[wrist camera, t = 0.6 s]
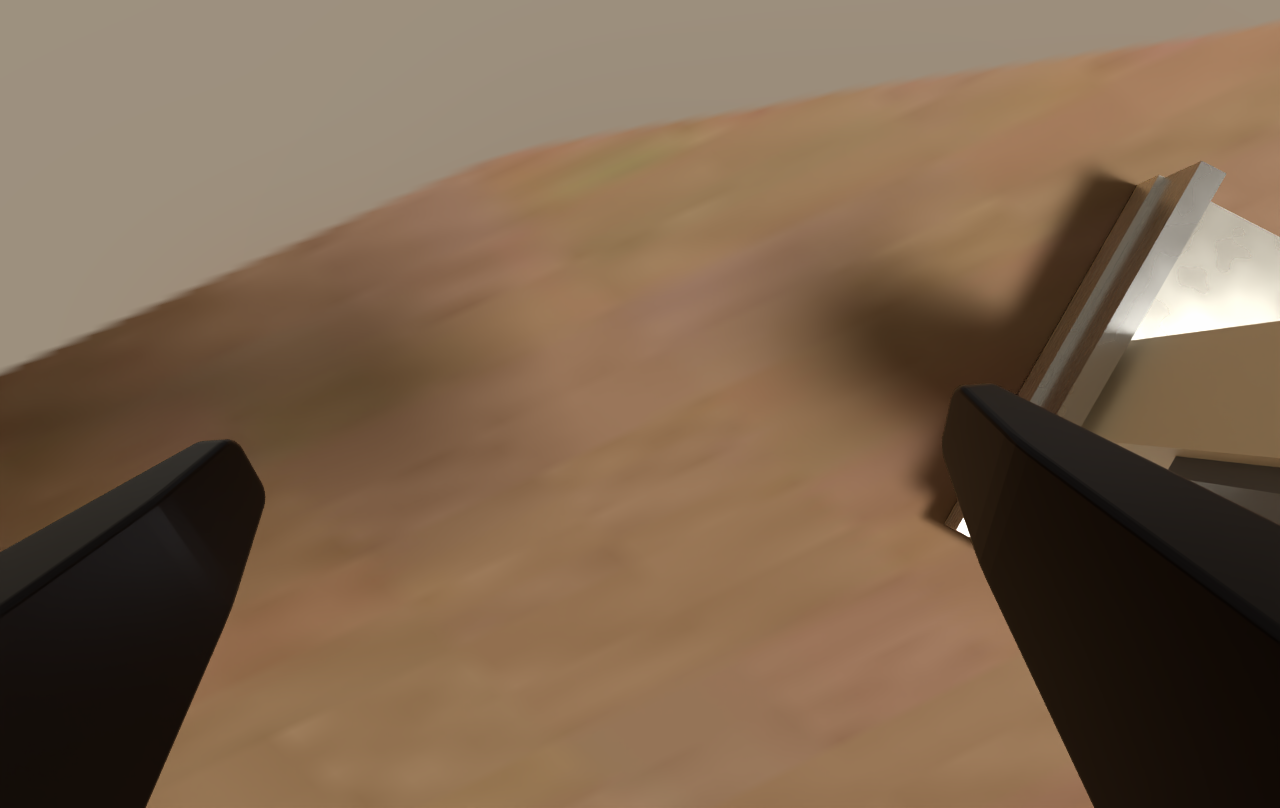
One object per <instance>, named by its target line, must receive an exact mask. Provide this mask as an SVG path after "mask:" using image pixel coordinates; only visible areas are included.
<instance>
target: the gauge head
mask: <svg viewBox="0 0 1280 808" xmlns="http://www.w3.org/2000/svg"><path fill="white" fill-rule="evenodd" d="M1081 427H1083V428H1085V429H1087V430H1089V431H1091V432H1093V433H1095V434H1097V435H1099V436H1101V437H1103V438H1105V439H1107V440H1109V441H1111V442H1113V443H1115V444H1117V445H1119V446H1121V447H1123V448H1125V449H1127V450H1129V451H1131V452H1133V453H1135V454H1138V455H1140V456H1142V457H1144V458H1146V459H1148V460H1150V461H1152V462H1154V463H1156V464H1158V465H1160V466H1162V467H1164V468H1166V469H1168V470H1170V471H1172V472H1174V473H1176V474H1178V475H1180V476H1182V477H1184V478H1186V479H1188V480H1190V481H1192V482H1194V483H1196V484H1198V485H1200V486H1202V487H1204V488H1206V489H1208V490H1210V491H1212V492H1214V493H1217V494H1219V495H1221V496H1223V497H1225V498H1227V499H1229V500H1231V501H1233V502H1235V503H1237V504H1239V505H1241V506H1243V507H1245V508H1247V509H1249V510H1251V511H1253V512H1255V513H1257V514H1259V515H1261V516H1263V517H1265V518H1267V519H1269V520H1271V521H1273V522H1275V523H1277V524H1279V525H1280V321H1274V322H1267V323H1259V324H1251V325H1244V326H1236V327H1229V328H1221V329H1214V330H1206V331H1199V332H1191V333H1184V334H1176V335H1169V336H1161V337H1153V338H1146V339H1138V340H1131V341H1130V343H1129V344H1128V346H1127V348H1126V350H1125V351H1124V353H1123V355H1122V357H1121V358H1120V360H1119V362H1118V364H1117V365H1116V367H1115V369H1114V370H1113V372H1112V374H1111V376H1110V377H1109V379H1108V381H1107V383H1106V384H1105V386H1104V388H1103V390H1102V391H1101V393H1100V395H1099V397H1098V398H1097V400H1096V402H1095V404H1094V405H1093V407H1092V409H1091V411H1090V412H1089V414H1088V416H1087V418H1086V419H1085V421H1084V423H1083V425H1082V426H1081Z"/></svg>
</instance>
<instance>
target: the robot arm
mask: <svg viewBox="0 0 1280 808" xmlns="http://www.w3.org/2000/svg"><path fill="white" fill-rule="evenodd" d="M942 452H943V457H944V460H945V464H946V467H947V470H948V473H949V476H950V479H951V482H952V485H953V488H954V491H955V494H956V497H957V500H958V503H959V506H960V509H961V512H962V515H963V518H964V521H965V524H966V527H967V530H968V533H969V536H970V539H971V542H972V545H973V548H974V550H975V553H976V556H977V559H978V561H979V564H980V566H981V568H982V571H983V573H984V575H985V578H986V580H987V582H988V584H989V586H990V588H991V591H992V593H993V595H994V597H995V599H996V601H997V603H998V605H999V607H1000V610H1001V612H1002V614H1003V616H1004V618H1005V620H1006V622H1007V624H1008V626H1009V629H1010V631H1011V633H1012V635H1013V637H1014V639H1015V641H1016V643H1017V645H1018V648H1019V650H1020V652H1021V654H1022V656H1023V658H1024V660H1025V662H1026V665H1027V667H1028V669H1029V671H1030V673H1031V675H1032V677H1033V679H1034V681H1035V684H1036V686H1037V688H1038V690H1039V692H1040V694H1041V696H1042V698H1043V700H1044V703H1045V705H1046V707H1047V709H1048V711H1049V713H1050V715H1051V717H1052V719H1053V722H1054V724H1055V726H1056V728H1057V730H1058V732H1059V734H1060V736H1061V739H1062V741H1063V743H1064V745H1065V747H1066V749H1067V751H1068V753H1069V755H1070V758H1071V760H1072V762H1073V764H1074V766H1075V768H1076V770H1077V772H1078V774H1079V777H1080V779H1081V781H1082V783H1083V785H1084V787H1085V789H1086V791H1087V793H1088V796H1089V798H1090V800H1091V802H1092V804H1093V806H1094V808H1280V525H1279V524H1277V523H1275V522H1273V521H1271V520H1269V519H1267V518H1265V517H1263V516H1261V515H1259V514H1257V513H1255V512H1253V511H1251V510H1249V509H1247V508H1245V507H1243V506H1241V505H1239V504H1237V503H1235V502H1233V501H1231V500H1229V499H1227V498H1225V497H1223V496H1221V495H1219V494H1217V493H1214V492H1212V491H1210V490H1208V489H1206V488H1204V487H1202V486H1200V485H1198V484H1196V483H1194V482H1192V481H1190V480H1188V479H1186V478H1184V477H1182V476H1180V475H1178V474H1176V473H1174V472H1172V471H1170V470H1168V469H1166V468H1164V467H1162V466H1160V465H1158V464H1156V463H1154V462H1152V461H1150V460H1148V459H1146V458H1144V457H1142V456H1140V455H1138V454H1135V453H1133V452H1131V451H1129V450H1127V449H1125V448H1123V447H1121V446H1119V445H1117V444H1115V443H1113V442H1111V441H1109V440H1107V439H1105V438H1103V437H1101V436H1099V435H1097V434H1095V433H1093V432H1091V431H1089V430H1087V429H1085V428H1083V427H1081V426H1079V425H1077V424H1075V423H1073V422H1071V421H1069V420H1067V419H1065V418H1063V417H1061V416H1059V415H1057V414H1054V413H1052V412H1050V411H1048V410H1046V409H1044V408H1042V407H1040V406H1038V405H1036V404H1034V403H1032V402H1030V401H1028V400H1026V399H1024V398H1022V397H1020V396H1018V395H1016V394H1014V393H1012V392H1010V391H1008V390H1006V389H1004V388H1002V387H1000V386H998V385H996V384H992V383H982V384H969V385H960V386H959V387H957V388H956V389H955V390H954V392H953V394H952V397H951V401H950V405H949V410H948V415H947V419H946V424H945V428H944V433H943V438H942ZM264 504H265V491H264V487H263V485H262V483H261V481H260V479H259V477H258V476H257V474H256V472H255V470H254V469H253V467H252V465H251V463H250V461H249V460H248V458H247V456H246V454H245V453H244V451H243V449H242V448H241V446H240V445H239V444H238V443H236V442H235V441H232V440H228V439H226V440H212V441H202V442H198V443H196V444H193V445H192V446H190V447H188V448H186V449H185V450H183V451H181V452H179V453H177V454H176V455H174V456H172V457H170V458H168V459H167V460H165V461H163V462H161V463H159V464H158V465H156V466H154V467H152V468H151V469H149V470H147V471H145V472H143V473H142V474H140V475H138V476H136V477H134V478H133V479H131V480H129V481H127V482H125V483H124V484H122V485H120V486H118V487H116V488H115V489H113V490H111V491H109V492H108V493H106V494H104V495H102V496H100V497H99V498H97V499H95V500H93V501H91V502H90V503H88V504H86V505H84V506H82V507H81V508H79V509H77V510H75V511H73V512H72V513H70V514H68V515H66V516H65V517H63V518H61V519H59V520H57V521H56V522H54V523H52V524H50V525H48V526H47V527H45V528H43V529H41V530H39V531H38V532H36V533H34V534H32V535H31V536H29V537H27V538H25V539H23V540H22V541H20V542H18V543H16V544H14V545H13V546H11V547H9V548H7V549H5V550H4V551H2V552H0V808H146V806H147V803H148V801H149V799H150V797H151V794H152V792H153V790H154V787H155V785H156V783H157V780H158V778H159V776H160V774H161V771H162V769H163V767H164V764H165V762H166V760H167V757H168V755H169V753H170V751H171V748H172V746H173V744H174V741H175V739H176V737H177V734H178V732H179V730H180V728H181V725H182V723H183V721H184V718H185V716H186V714H187V711H188V709H189V707H190V704H191V702H192V700H193V698H194V695H195V693H196V691H197V688H198V686H199V684H200V681H201V679H202V677H203V675H204V672H205V670H206V668H207V665H208V663H209V661H210V658H211V656H212V654H213V652H214V649H215V647H216V645H217V642H218V640H219V638H220V635H221V633H222V631H223V628H224V626H225V624H226V621H227V619H228V616H229V614H230V611H231V609H232V606H233V603H234V600H235V597H236V594H237V591H238V588H239V585H240V582H241V578H242V575H243V572H244V569H245V566H246V563H247V559H248V556H249V553H250V550H251V547H252V543H253V540H254V537H255V534H256V531H257V527H258V524H259V521H260V518H261V515H262V511H263V508H264Z"/></svg>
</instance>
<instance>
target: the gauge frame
mask: <svg viewBox="0 0 1280 808" xmlns="http://www.w3.org/2000/svg"><path fill="white" fill-rule="evenodd" d="M1225 175H1226V173H1224V172H1222V171H1221V170H1219V169H1217V168H1215V167H1213V166H1211V165H1209V164H1207V163H1205V162H1203V161H1200V162H1198V163H1196V164H1194V165H1192V166H1189V167H1187V168H1185V169H1183V170H1181V171H1178V172H1176V173H1174V174H1172V175H1170V176H1167V177H1165V178H1164V177H1162V176H1160V175H1158V176H1155V177H1153V178H1151V179H1149V180H1147V181H1145V182H1143V183H1140V184H1138V185H1137V186H1136V188H1135V190H1134V192H1133V194H1132V195H1131V197H1130V199H1129V201H1128V202H1127V204H1126V206H1125V208H1124V209H1123V211H1122V213H1121V215H1120V216H1119V218H1118V220H1117V222H1116V223H1115V225H1114V227H1113V229H1112V230H1111V232H1110V234H1109V236H1108V237H1107V239H1106V241H1105V243H1104V244H1103V246H1102V248H1101V250H1100V251H1099V253H1098V255H1097V257H1096V258H1095V260H1094V262H1093V264H1092V265H1091V267H1090V269H1089V271H1088V273H1087V274H1086V276H1085V278H1084V280H1083V281H1082V283H1081V285H1080V287H1079V288H1078V290H1077V292H1076V294H1075V295H1074V297H1073V299H1072V301H1071V302H1070V304H1069V306H1068V308H1067V309H1066V311H1065V313H1064V315H1063V316H1062V318H1061V320H1060V322H1059V323H1058V325H1057V327H1056V329H1055V330H1054V332H1053V334H1052V336H1051V337H1050V339H1049V341H1048V343H1047V344H1046V346H1045V348H1044V350H1043V352H1042V353H1041V355H1040V357H1039V359H1038V360H1037V362H1036V364H1035V366H1034V367H1033V369H1032V371H1031V373H1030V374H1029V376H1028V378H1027V380H1026V381H1025V383H1024V385H1023V387H1022V388H1021V390H1020V392H1019V394H1018V396H1020V397H1022V398H1024V399H1026V400H1028V401H1030V402H1032V403H1034V404H1036V405H1038V406H1040V407H1042V408H1044V409H1046V410H1048V411H1050V412H1052V413H1054V414H1057V415H1059V416H1061V417H1063V418H1065V419H1067V420H1069V421H1071V422H1073V423H1075V424H1077V425H1079V426H1082V425H1083V423H1084V421H1085V419H1086V418H1087V416H1088V414H1089V412H1090V411H1091V409H1092V407H1093V405H1094V404H1095V402H1096V400H1097V398H1098V397H1099V395H1100V393H1101V391H1102V390H1103V388H1104V386H1105V384H1106V383H1107V381H1108V379H1109V377H1110V376H1111V374H1112V372H1113V370H1114V369H1115V367H1116V365H1117V364H1118V362H1119V360H1120V358H1121V357H1122V355H1123V353H1124V351H1125V350H1126V348H1127V346H1128V344H1129V343H1130V341H1131V340H1138V339H1146V338H1153V337H1161V336H1169V335H1176V334H1184V333H1191V332H1199V331H1206V330H1214V329H1221V328H1229V327H1236V326H1244V325H1251V324H1259V323H1267V322H1274V321H1280V237H1278V236H1277V235H1275V234H1273V233H1271V232H1269V231H1267V230H1265V229H1263V228H1261V227H1259V226H1257V225H1255V224H1253V223H1251V222H1249V221H1247V220H1246V219H1244V218H1242V217H1240V216H1238V215H1236V214H1234V213H1232V212H1230V211H1228V210H1226V209H1224V208H1222V207H1220V206H1218V205H1217V204H1215V203H1213V202H1211V200H1212V198H1213V196H1214V194H1215V193H1216V191H1217V189H1218V187H1219V186H1220V184H1221V182H1222V180H1223V179H1224V177H1225ZM945 525H946V526H948V527H950V528H952V529H954V530H955V531H957V532H959V533H961V534H963V535H965V536H966V537H968V538H970V536H969V533H968V530H967V527H966V524H965V521H964V518H963V515H962V512H961V509H960V506H959V503H958V501H957V503H956V504H955V506H954V508H953V510H952V511H951V513H950V515H949V517H948V518H947V520H946V522H945Z"/></svg>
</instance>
